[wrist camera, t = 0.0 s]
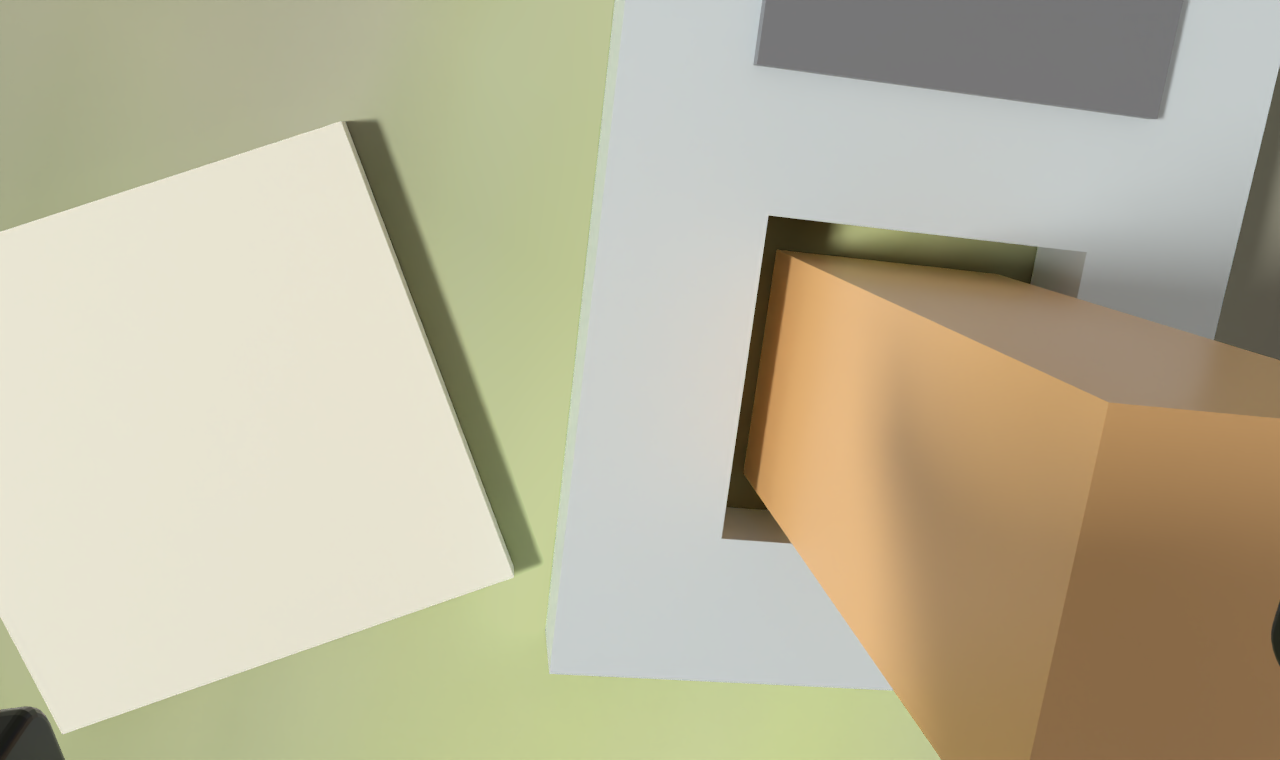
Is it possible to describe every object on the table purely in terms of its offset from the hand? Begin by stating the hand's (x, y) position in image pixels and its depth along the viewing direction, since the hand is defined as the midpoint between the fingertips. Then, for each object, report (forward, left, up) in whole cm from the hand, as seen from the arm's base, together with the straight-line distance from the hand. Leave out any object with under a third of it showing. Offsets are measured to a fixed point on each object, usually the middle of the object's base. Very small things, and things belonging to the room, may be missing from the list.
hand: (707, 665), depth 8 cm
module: (+3, -6, -15) cm, 17 cm away
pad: (-6, +5, -15) cm, 17 cm away
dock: (+5, -5, -15) cm, 17 cm away
